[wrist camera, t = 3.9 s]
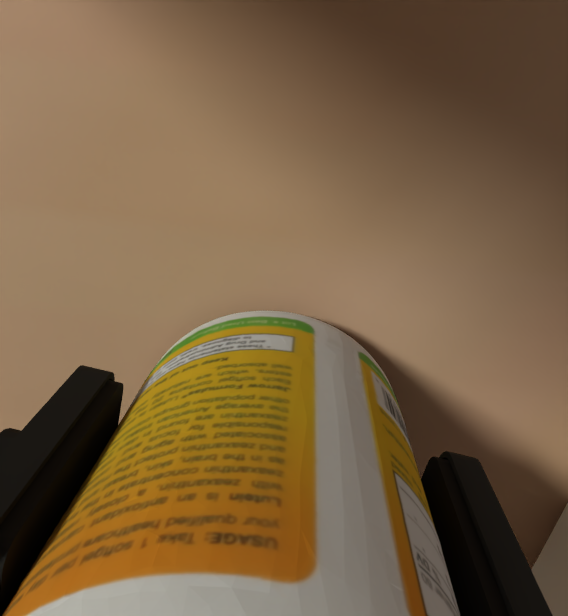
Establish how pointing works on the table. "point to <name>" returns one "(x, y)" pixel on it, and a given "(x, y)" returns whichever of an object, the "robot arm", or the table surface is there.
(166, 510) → the supplement bottle
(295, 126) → the table surface
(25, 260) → the table surface
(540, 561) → the tile
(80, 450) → the robot arm
